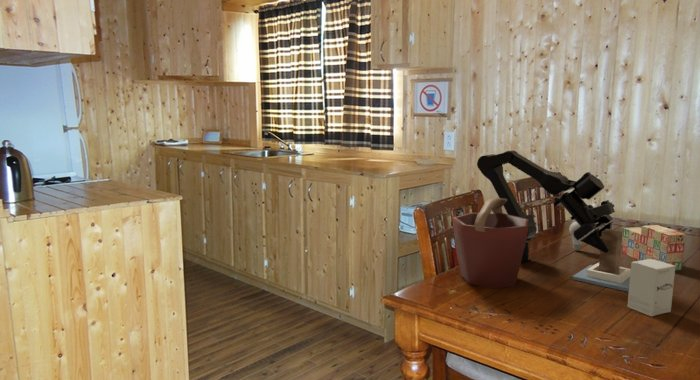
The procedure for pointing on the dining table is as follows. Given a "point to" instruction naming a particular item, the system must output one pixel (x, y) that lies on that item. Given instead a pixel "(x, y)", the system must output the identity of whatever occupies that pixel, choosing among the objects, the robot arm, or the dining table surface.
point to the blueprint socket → (605, 277)
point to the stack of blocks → (654, 244)
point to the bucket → (490, 245)
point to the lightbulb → (576, 243)
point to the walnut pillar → (611, 251)
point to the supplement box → (651, 287)
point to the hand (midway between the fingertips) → (612, 249)
